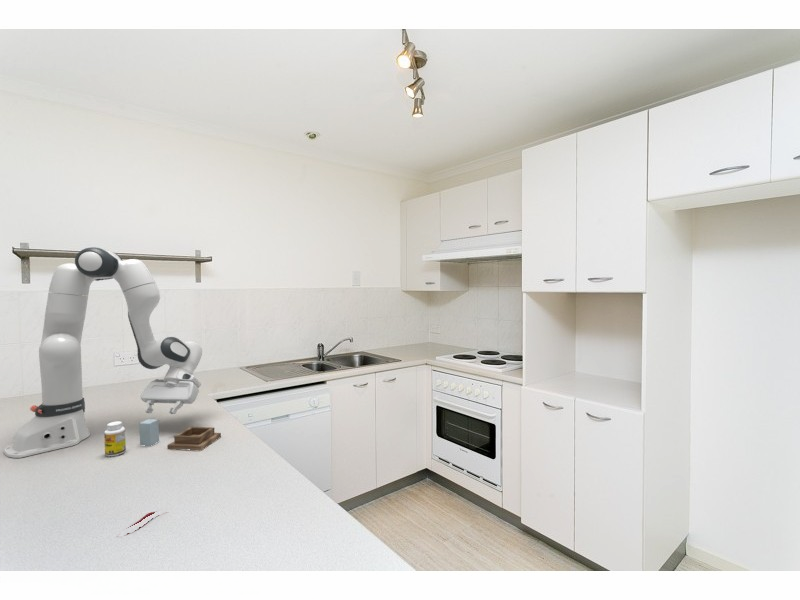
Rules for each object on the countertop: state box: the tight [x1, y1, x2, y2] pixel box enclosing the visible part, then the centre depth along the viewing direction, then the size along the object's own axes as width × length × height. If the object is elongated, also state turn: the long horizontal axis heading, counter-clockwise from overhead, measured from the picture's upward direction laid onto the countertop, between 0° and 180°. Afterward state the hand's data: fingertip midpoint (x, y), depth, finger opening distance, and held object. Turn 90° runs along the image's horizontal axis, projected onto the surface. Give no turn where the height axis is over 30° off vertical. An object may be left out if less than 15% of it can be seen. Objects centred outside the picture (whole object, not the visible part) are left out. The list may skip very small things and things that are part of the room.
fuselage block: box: [138, 418, 160, 447], centre depth 137 cm, size 4×4×8 cm
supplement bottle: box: [103, 420, 127, 457], centre depth 130 cm, size 6×6×10 cm
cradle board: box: [166, 426, 222, 451], centre depth 138 cm, size 12×12×4 cm
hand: (160, 413), depth 142 cm, fingers open, 8 cm apart
